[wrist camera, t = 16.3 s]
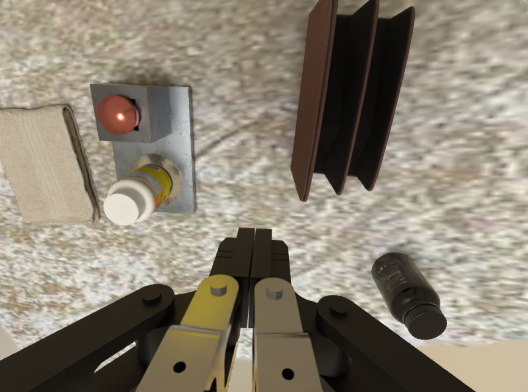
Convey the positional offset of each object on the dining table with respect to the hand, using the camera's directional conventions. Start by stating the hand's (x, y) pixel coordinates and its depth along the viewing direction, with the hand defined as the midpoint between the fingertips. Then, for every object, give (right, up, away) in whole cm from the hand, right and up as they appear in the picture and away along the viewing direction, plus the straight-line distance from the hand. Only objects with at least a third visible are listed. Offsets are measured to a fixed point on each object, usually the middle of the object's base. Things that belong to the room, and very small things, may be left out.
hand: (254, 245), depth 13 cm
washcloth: (-32, +7, +30) cm, 44 cm away
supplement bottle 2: (+22, -10, +35) cm, 42 cm away
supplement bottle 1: (-15, +4, +28) cm, 32 cm away
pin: (-15, +14, +24) cm, 32 cm away
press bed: (-15, +9, +28) cm, 33 cm away
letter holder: (+10, +15, +25) cm, 31 cm away
